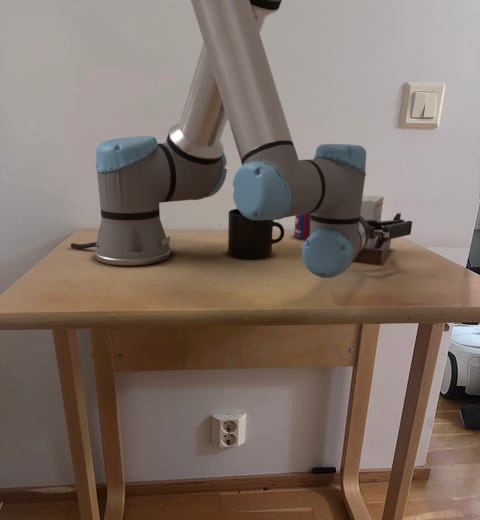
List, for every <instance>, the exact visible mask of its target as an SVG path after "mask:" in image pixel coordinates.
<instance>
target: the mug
mask: <svg viewBox="0 0 480 520" xmlns="http://www.w3.org/2000/svg"><path fill="white" fill-rule="evenodd" d="M227 227H228V232H227V233H228V234H227V235H228V236H227V241H228V242H227V252H228V254H229V255H230V256H232V257H234V258H238V259H243V260H244V259H245V260H257V259H258V260H259V259H265V258H268V257H270V256H271V255H272V253H273V245H274V244H278V243H280V242H281V241H282V240H283V238H284V237H285V228H284V227H283V225H282V224H281V223H280V222H278V221H275V220H251V219H248V218H246V217H245V216H244V215H242V214H241V212H240V211H239V210H238V208H233V209H230V210H229V211H228V226H227ZM275 227H276V228H278V230H279V231H280V233H279V236H278V237H277V238H273V229H274V228H275Z"/></svg>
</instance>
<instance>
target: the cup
mask: <svg viewBox="0 0 480 520" xmlns="http://www.w3.org/2000/svg"><path fill="white" fill-rule="evenodd" d="M309 217H310V214H303V215H296V216H295V217H294V219H295V220H294V221H295V223H294V236H293V237H294V239H297V240H302V241H306V239H307V238H308V237H309V235H310V225H309Z"/></svg>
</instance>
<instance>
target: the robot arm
mask: <svg viewBox="0 0 480 520" xmlns="http://www.w3.org/2000/svg"><path fill="white" fill-rule="evenodd" d="M282 1H283V0H190V2H191V5H192V8H193V12H194V15H195V18H196V22H197V24H198V28H199V30H200V34H201V37H202V40H203V41H202V42H203V43H202V46H201V50H200V52H199V56H198V60H197V63H196V67H195V70H194V73H193V76H192V79H191V84H190V87H189V90H188V93H187V97H186V100H185V103H184V107H183V110H182V113H181V117H180V120H179V122H178V123H176V124H173V125H172V126H170V128H169V130H168V133H167V137H166V140H165V142H163V143H161V142H160V143H159V142H158V140H157V138H156V137H155V136H151V135H138V136H126V137H120V138H119V137H117V138H113V139H107V140H105V141H103V142H101V143H99V144H98V145H97V147H96V150H95V164H96V165H95V171H96V177H97V186H98V187H97V188H98V197H99V207H100V221H101V222H100V225H99V228H98V234H97V239H96V241H94V242H88V243H74V242H72V243H70V248H73V249H78V250H80V249H81V250H85V249H90V248H94V255H95V256H94V257H95V260H97V261H98V262H100V263H103V264H106V265H110V266H121V267H134V266H135V267H136V266H138V267H139V266H146V265H153V264H157V263H162V262H163V261H166V260H168V259H169V258H170V257H171V248H170V247H171V246H170V243H171V235H169V236H167V235H166V232H165V229H164V226H163V224H162V221H161V215H160V214H161V212H160V210H161V209H160V204H161V203H171V202H172V203H173V202H182V201H199V200H203V199H206V198H210V197H213V196H214V195H216V194H218V192H219V191H220V190H221V188H222V187H223V185H224V183H225V181H226V178H227V173H228V172H227V171H228V169H227V168H226V166H227V164H228V163H227V161H228V160H227V157H226V154H225V152H224V150H225V148H224V144H223V143H222V141H221V138H222V135H223V133H224V130H225V128H226V125H227V122H228V123H229V128H230V130H231V134H232V136H233V140H234V143H235V146H236V150H237V153H238V155H239V158H240V163H241V166H240V167H239V168H238V169H237V171H236V172H235V175H234V176H233V180H232V187H233V193H232V198H233V202H234V204H235V207H236V209H238V210H239V211H240V212H241V214H242V215H244V216H245V217H246V218H248V219H251V220H273V221H276V220H277V221H279V220H282V219H285V218H290V217H296V215H303V214H310V217H309V225H310V235H309V237H308V238H307V239H306V240H305V242H304V243H303V245H302V248H301V259H302V261H303V262H302V263H303V264H304V267H305V268H306V270H308V271H309V272H310V273H311V274H313V275H314V276H316V277H318V278H322V279H330V278H335V277H338V276H340V275H341V274H342V273H343V272H345V271H347V270H348V268H350V266H351V265H352V263H353V262H354V261H353V260H354V259H355V257H356V256H357V255H358V253H359V252H360V251H361V250H362V249H363V247H364V246H365V245H366V243H367V242H368V240H369V239H374V238H375V237H376V236H379V237H380V239H381V241H383V242H386V241H388V240H390V239H391V240H393V239H397V238H401V237H406V236H410V235H412V234H411V233H412V229H413V221H412V220H407V221H405V219H401V216H402V213H401V212H399V213H396V214H395V216H393V219H392V220H381V221H379V222H377V221H375V220H365V219H364V218H363V217H362V216H360V212H361V205H362V197H363V195H364V188H365V181H366V177H367V172H366V165H367V164H366V163H367V150H366V148H365V147H364V146H362V145H359V144H349V143H348V144H346V143H322V144H319V145H318V146H317V147H316V150H315V154H314V157H313V158H311V159H299V157H298V152H297V149H296V147H295V144H294V141H293V138H292V134H291V131H290V128H289V125H288V122H287V119H286V115H285V111H284V108H283V105H282V102H281V99H280V96H279V93H278V89H277V86H276V82H275V79H274V76H273V72H272V70H271V66H270V62H269V60H268V57H267V54H266V53H267V52H266V50H265V47H264V43H263V40H262V37H261V34H260V33H261V30H262V29H263V25H264V24H265V21H266V18H267V17H268V16H271V15H272V14H275V13H277V12H278V11H279V9H280V6H281V3H282ZM368 224H370V225H368Z"/></svg>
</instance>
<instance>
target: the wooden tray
mask: <svg viewBox="0 0 480 520" xmlns="http://www.w3.org/2000/svg"><path fill="white" fill-rule="evenodd" d="M391 242H392V239H390V240H388V241H386V242H383V241H381V239H380V237H379V236H378V243H377V249H372V248H363V249H362V250H361V251H360V252H359V253H358V255H357V256H356V257H355V259H354V260H353V262H355V263H361V264H362V263H364V264H370V265H380V266H381V265H382V263H383V261H384V260H385V258H386V256H387V255H388V253H389V251H390V250H391Z"/></svg>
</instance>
